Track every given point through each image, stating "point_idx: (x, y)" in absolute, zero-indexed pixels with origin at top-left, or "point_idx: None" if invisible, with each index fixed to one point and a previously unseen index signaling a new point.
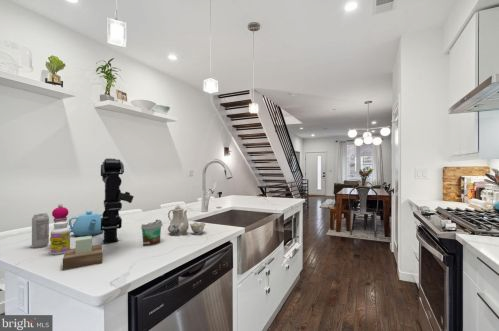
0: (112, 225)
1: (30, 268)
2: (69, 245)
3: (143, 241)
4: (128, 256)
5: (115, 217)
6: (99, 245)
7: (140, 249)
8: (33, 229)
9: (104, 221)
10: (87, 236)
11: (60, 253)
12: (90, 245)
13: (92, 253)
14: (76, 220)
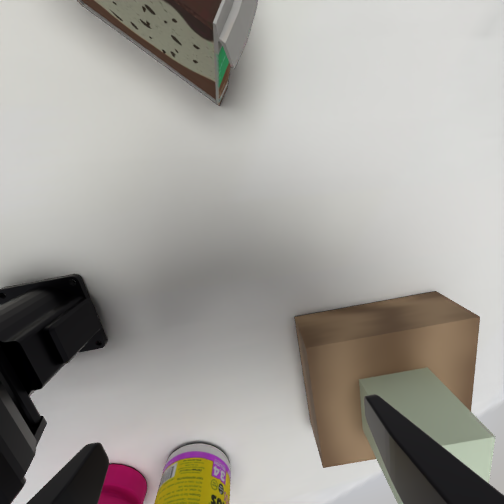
0: (3, 386)
1: (350, 484)
2: (193, 471)
3: (221, 93)
4: (404, 185)
5: (494, 494)
6: (322, 355)
7: (304, 121)
8: None
9: (4, 494)
10: None
11: (228, 461)
12: (454, 400)
13: (463, 357)
14: None
